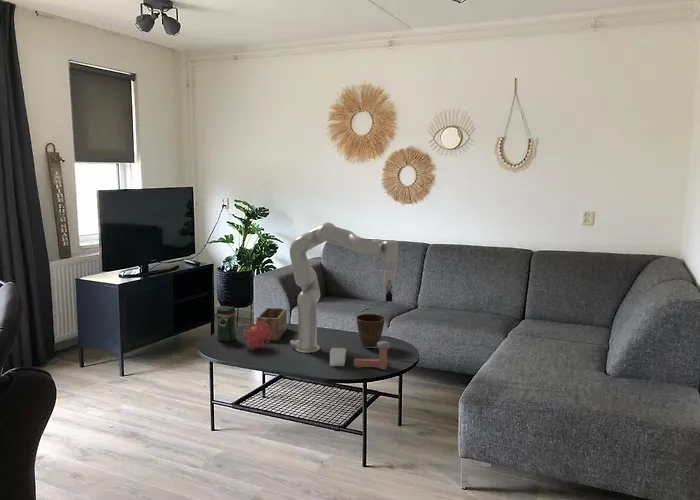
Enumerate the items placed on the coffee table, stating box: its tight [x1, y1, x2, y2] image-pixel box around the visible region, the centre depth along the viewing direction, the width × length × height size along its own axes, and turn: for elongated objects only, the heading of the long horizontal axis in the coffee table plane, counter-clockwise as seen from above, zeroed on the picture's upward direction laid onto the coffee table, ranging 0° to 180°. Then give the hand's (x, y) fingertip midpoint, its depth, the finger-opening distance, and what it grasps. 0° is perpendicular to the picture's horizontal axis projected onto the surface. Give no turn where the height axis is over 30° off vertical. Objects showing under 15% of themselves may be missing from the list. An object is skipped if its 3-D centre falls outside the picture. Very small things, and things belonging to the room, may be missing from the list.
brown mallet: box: [353, 340, 391, 369], centre depth 269 cm, size 17×7×12 cm, turn 85°
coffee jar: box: [216, 305, 237, 342], centre depth 307 cm, size 10×8×19 cm
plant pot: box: [356, 313, 386, 347], centre depth 299 cm, size 15×15×16 cm
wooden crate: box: [256, 307, 288, 341], centre depth 319 cm, size 12×22×12 cm, turn 175°
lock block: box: [329, 347, 347, 367], centre depth 273 cm, size 7×7×7 cm
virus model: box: [242, 319, 272, 350], centre depth 294 cm, size 15×15×15 cm
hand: (388, 299), depth 284 cm, fingers open, 9 cm apart
